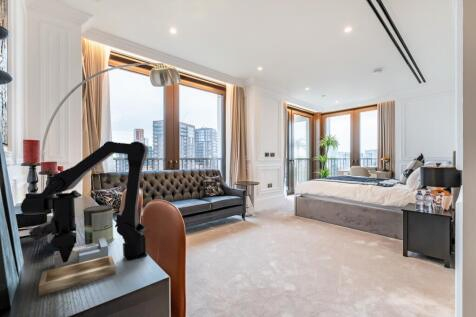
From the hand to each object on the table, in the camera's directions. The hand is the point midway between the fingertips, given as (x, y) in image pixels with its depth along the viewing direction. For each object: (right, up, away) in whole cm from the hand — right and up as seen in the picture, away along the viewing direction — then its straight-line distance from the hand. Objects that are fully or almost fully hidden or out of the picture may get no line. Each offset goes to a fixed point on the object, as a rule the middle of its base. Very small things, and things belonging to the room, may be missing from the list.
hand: (65, 259), depth 75 cm
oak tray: (+11, -1, -9) cm, 15 cm away
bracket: (+5, -1, +4) cm, 7 cm away
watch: (-13, -2, +11) cm, 18 cm away
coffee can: (-1, -1, +19) cm, 19 cm away
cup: (-17, -2, +20) cm, 26 cm away
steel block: (+3, -1, +2) cm, 3 cm away
